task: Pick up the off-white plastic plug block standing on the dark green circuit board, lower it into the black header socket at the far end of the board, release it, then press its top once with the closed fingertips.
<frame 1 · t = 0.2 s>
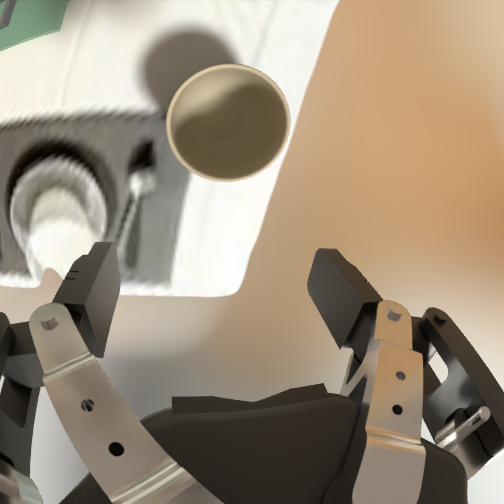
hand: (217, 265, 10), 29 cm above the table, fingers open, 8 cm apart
board: (23, 5, 13), on the table
planter: (220, 118, 33), on the table
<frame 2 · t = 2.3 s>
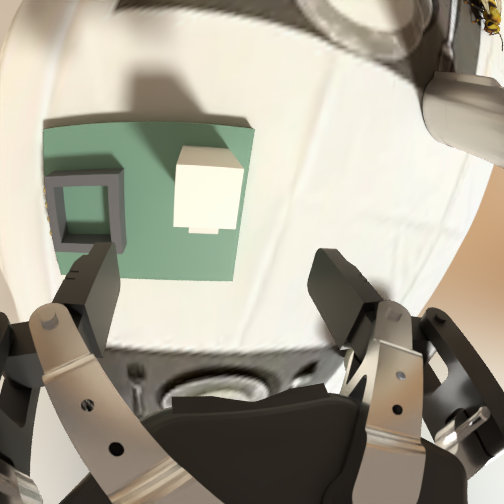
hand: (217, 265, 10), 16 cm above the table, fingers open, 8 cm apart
plug: (203, 168, 23), point 1 cm above the table, touching board
board: (139, 203, 24), on the table
insect: (474, 9, 15), on the table
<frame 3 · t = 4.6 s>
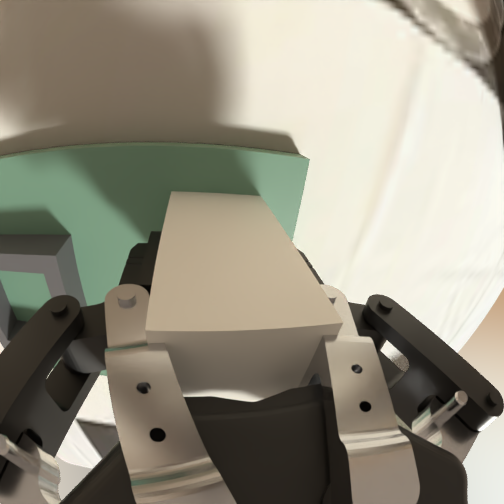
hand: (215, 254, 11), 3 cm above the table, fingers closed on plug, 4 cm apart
plug: (213, 233, 13), point 1 cm above the table, touching board, gripper
board: (107, 283, 14), on the table
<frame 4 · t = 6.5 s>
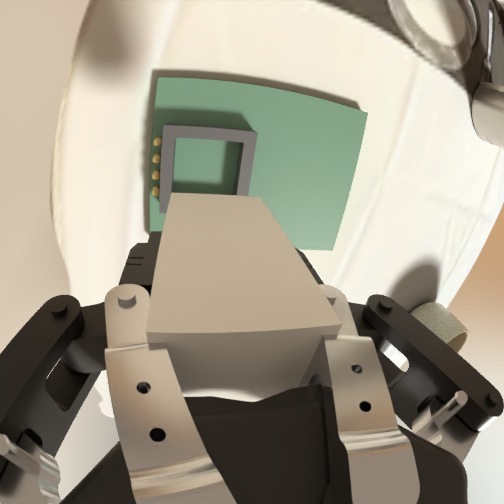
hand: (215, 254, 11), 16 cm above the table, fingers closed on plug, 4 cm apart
plug: (212, 234, 13), point 14 cm above the table, touching gripper
board: (257, 168, 25), on the table
planter: (415, 317, 45), on the table
when the fingers open (4 cm above the table, at t = 8.3 s): plug stays where it is, resting on board.
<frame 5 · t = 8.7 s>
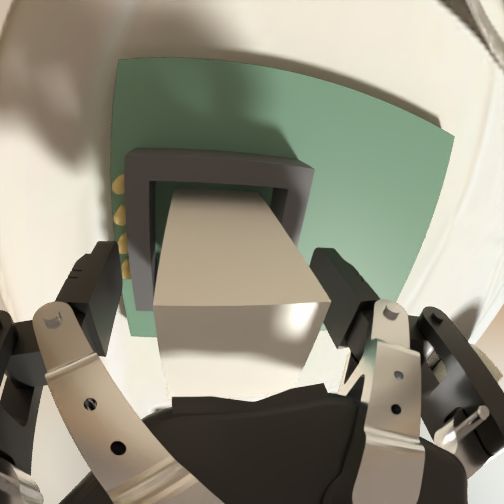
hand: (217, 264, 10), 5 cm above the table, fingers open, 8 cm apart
plug: (213, 228, 13), point 1 cm above the table, touching board
board: (297, 221, 16), on the table
planter: (446, 358, 35), on the table
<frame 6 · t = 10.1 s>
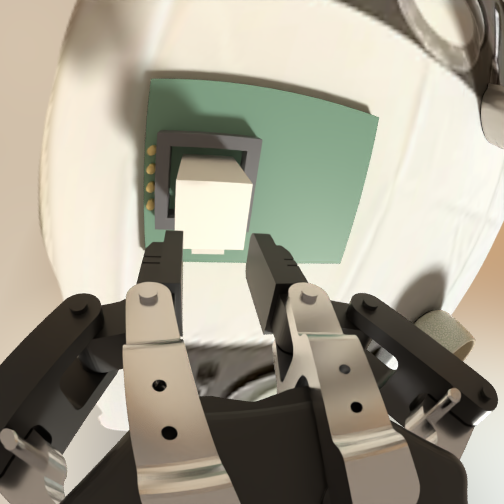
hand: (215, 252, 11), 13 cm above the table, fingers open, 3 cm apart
plug: (205, 178, 21), point 1 cm above the table, touching board
board: (261, 178, 23), on the table
planter: (420, 325, 43), on the table
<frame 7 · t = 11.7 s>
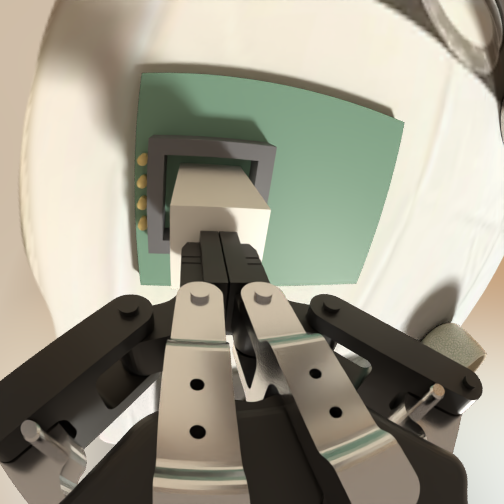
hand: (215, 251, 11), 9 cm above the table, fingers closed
plug: (207, 192, 18), point 1 cm above the table, touching board
board: (272, 191, 20), on the table
planter: (430, 337, 40), on the table
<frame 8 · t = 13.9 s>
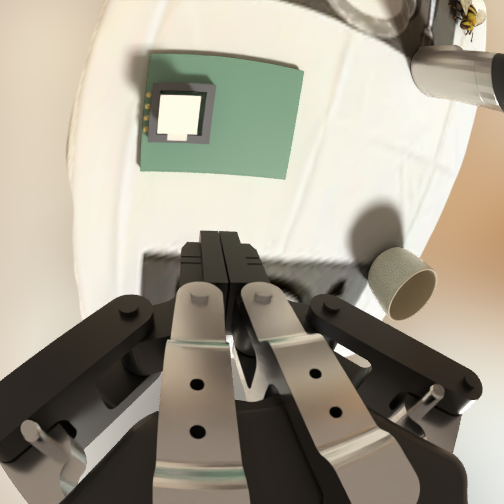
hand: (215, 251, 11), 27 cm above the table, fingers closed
plug: (182, 113, 30), point 1 cm above the table, touching board
board: (220, 114, 32), on the table
planter: (383, 264, 52), on the table
insect: (457, 15, 24), on the table
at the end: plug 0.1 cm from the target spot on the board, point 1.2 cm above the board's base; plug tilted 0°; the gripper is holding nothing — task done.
